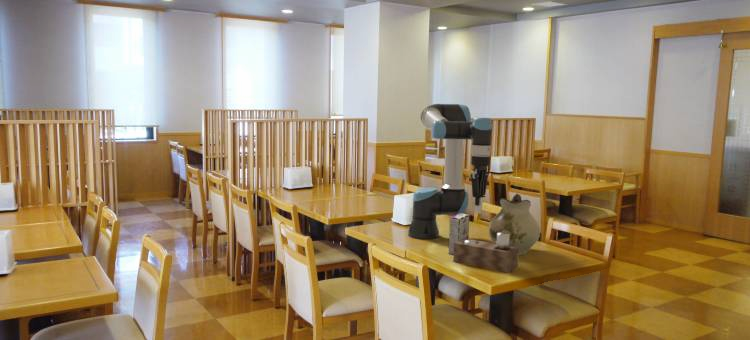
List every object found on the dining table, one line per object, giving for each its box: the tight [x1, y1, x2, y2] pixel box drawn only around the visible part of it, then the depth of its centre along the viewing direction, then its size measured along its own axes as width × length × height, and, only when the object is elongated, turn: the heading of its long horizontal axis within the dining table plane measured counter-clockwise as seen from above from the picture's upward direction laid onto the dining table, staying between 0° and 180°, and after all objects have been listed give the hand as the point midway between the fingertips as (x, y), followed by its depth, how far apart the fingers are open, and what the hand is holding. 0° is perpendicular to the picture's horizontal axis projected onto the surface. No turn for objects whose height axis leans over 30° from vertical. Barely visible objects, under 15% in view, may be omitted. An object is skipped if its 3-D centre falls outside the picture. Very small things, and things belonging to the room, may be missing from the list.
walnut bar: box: [452, 238, 519, 273], centre depth 234 cm, size 24×10×8 cm, turn 56°
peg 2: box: [496, 232, 510, 251], centre depth 230 cm, size 5×5×8 cm
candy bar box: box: [448, 213, 470, 256], centre depth 252 cm, size 11×5×16 cm, turn 148°
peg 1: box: [464, 238, 478, 245], centre depth 238 cm, size 5×5×8 cm
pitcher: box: [488, 193, 541, 256], centre depth 256 cm, size 22×24×25 cm
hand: (478, 212), depth 234 cm, fingers closed
